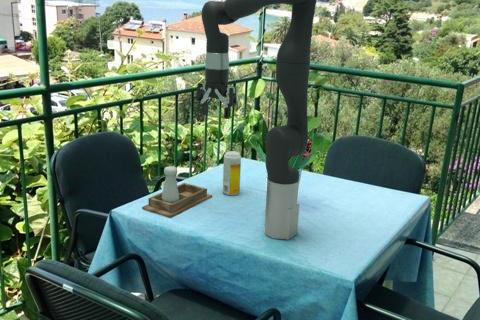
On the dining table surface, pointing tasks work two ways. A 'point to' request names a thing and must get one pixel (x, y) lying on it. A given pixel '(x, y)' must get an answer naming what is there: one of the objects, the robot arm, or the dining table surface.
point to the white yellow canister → (231, 173)
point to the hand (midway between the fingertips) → (215, 116)
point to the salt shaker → (170, 185)
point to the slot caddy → (187, 200)
